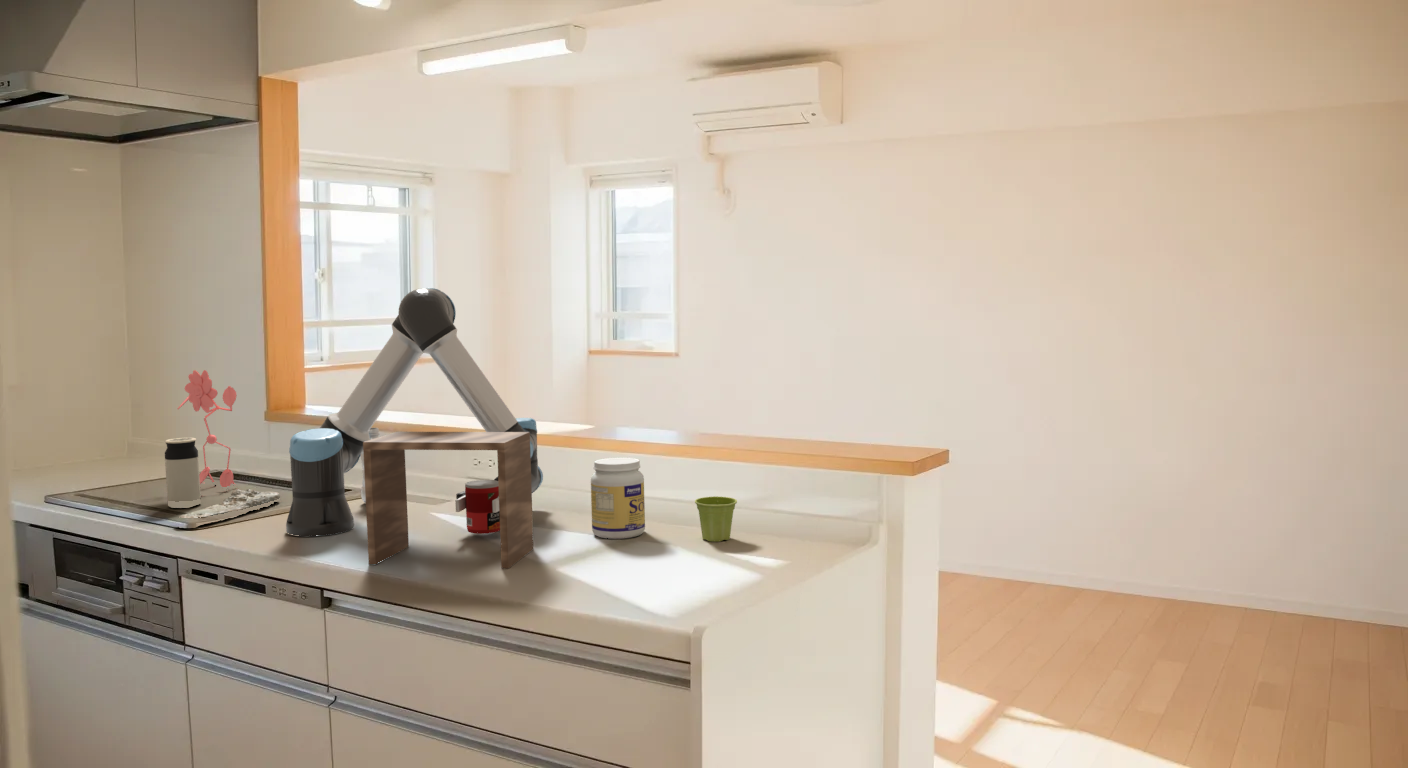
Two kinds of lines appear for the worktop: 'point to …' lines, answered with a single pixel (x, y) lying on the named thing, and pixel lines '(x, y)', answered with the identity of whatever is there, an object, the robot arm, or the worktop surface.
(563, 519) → the worktop surface
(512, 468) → the shelf riser
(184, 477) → the travel mug
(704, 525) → the plant pot
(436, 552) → the worktop surface
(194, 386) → the pink flower figurine
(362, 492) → the plastic bottle
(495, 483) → the canned food
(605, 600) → the worktop surface
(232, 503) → the elongated rock
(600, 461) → the supplement tub
